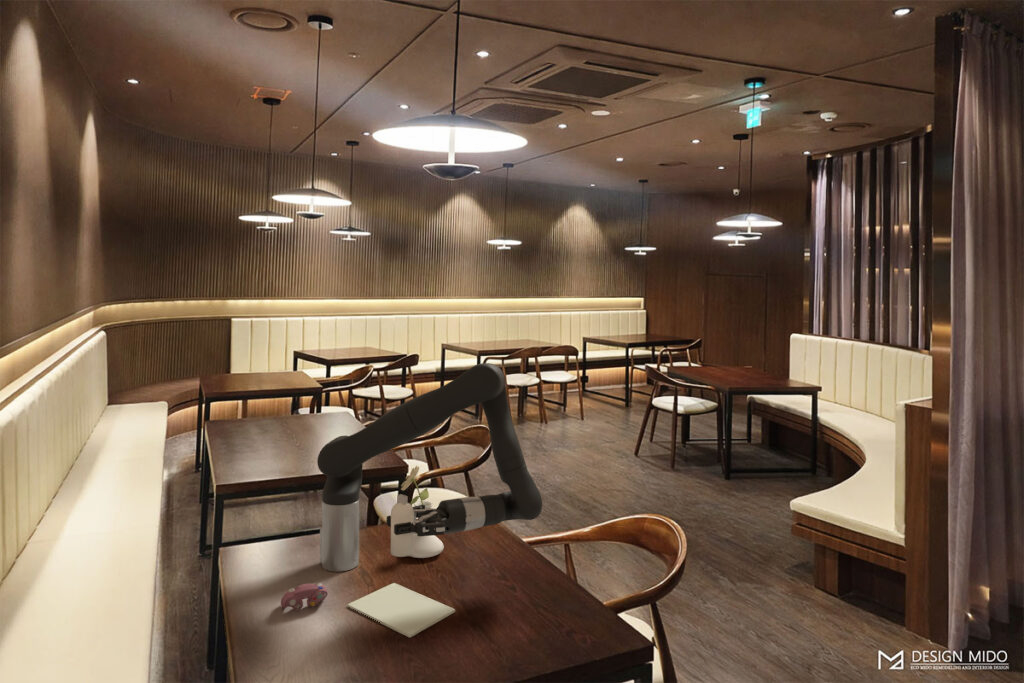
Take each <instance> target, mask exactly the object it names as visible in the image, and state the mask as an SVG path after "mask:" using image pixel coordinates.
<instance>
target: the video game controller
mask: <svg viewBox="0 0 1024 683" xmlns="http://www.w3.org/2000/svg"><path fill="white" fill-rule="evenodd" d="M327 597H328V589H327V588H326V586H325V584H322V583H321V582H318V583H317V584H315V583H303V584H301V585H299V586H296V587H294V588H293V587H291V588H289V589H288V590H286V591H285V592H284V593H283V596H281V599H280V606H281V608H282V609H286V608H288V607H289V608H292V609H293V610H294V611H297V609H299V610H301V609H302V608H304V602H303V600H306V599H307V600H306V603H307V604H306V605H307V606H308V607H309V608H312V607H311V606H314V607H316V606H317V605H318V604H319V602H321V601H324V600H326V598H327Z"/></svg>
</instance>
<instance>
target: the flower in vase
mask: <svg viewBox="0 0 1024 683" xmlns="http://www.w3.org/2000/svg"><path fill="white" fill-rule="evenodd" d="M419 471H420V466H418V465H415V467H413V468H412V469H411V470H410V473H409V474H408V475H406V477H405V480H404V481H403V482H402V484H401V485H400V487H401V488H400V490H401V491H403V492H404V491H405V490H406V489H407V488H408V487H409V486H410V485H412V483H414V485H415V487H416V490H417V492H418V495H416V496H414V497H413V498H412V499H411V501H410V502H409V504H410V505H414V506H418V505H425V509H426V508H432V506H433V505H434V504H433V502H432V501H429V500H426V499H429V496H430V494H429V491H428V488H427V487H426V488H424V490H422V491H421V492H420V490H419V486H418V485H417V482H416V480H415V478H416V477H417V475H418V473H419ZM418 499H419V501H418ZM414 506H413V507H414ZM444 548H445V545H444V543H443V542H442V540H441V539H439V538H438V537H437V535H433V536H417V534H414V542H413V553H412V554H411V555H409V556H408V557H412V558H417V559H424V558H425V559H427V558H431V557H432V558H433V557H434V556H437V555H439V554H441V553H442V552H443V550H444Z"/></svg>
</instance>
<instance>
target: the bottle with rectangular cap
mask: <svg viewBox="0 0 1024 683" xmlns="http://www.w3.org/2000/svg"><path fill="white" fill-rule="evenodd" d="M396 498H397V501H396V503H394V505H393V506H392V507H391V510H390V515H391V526H390V554H391V555H392V556H394V557H398V558H403V557H410V556H409V555H411V554H412V553H413V542H414V534H412V532H411V533H406V534H400V535H395V534H394V525H395V524H400V523H407V522H411V524H412V522H413V521H414V510H413V507H414V506H413V505H412V504H410V502H408V500H409V499H408V498H409V497H408V496H407V495H406V494H401V493H400V494H398V495H397V497H396Z"/></svg>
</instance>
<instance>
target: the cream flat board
mask: <svg viewBox="0 0 1024 683" xmlns="http://www.w3.org/2000/svg"><path fill="white" fill-rule="evenodd" d="M349 607H350V608H349ZM347 608H349V609H351V610H353V609H354V610H353V611H355V610H356V611H355V612H357V611H358V614H361V613H362V614H361V615H363V614H364V615H363V616H365V615H366V616H365V617H367V616H368V618H369V617H370V618H369V619H371V618H372V619H371V620H373V619H374V620H373V621H375V620H376V621H375V622H377V621H378V622H377V623H379V622H380V623H379V624H381V625H383V626H386V627H387V628H389V629H392V630H393V631H395V632H397V633H399V634H401V635H404V636H406V637H408V638H409V639H410V638H412V637H414V636H416V635H417V634H419V633H420V632H422V631H424V630H426V629H428V628H429V627H432V626H434V625H435V624H436V623H438V622H440V621H442V620H443V619H445V618H447V617H448V616H450V615H452V614H454V613H455V612H456V609H455V608H453V607H450V606H449V605H446V604H443V603H442V602H440V601H437V600H435V599H432V598H429V597H428V596H426V595H423V594H420V593H418V592H416V591H414V590H412V589H409V588H407V587H405V586H403V585H400V584H398V583H396V582H393V583H391V584H388V585H386V586H384V587H382V588H379V589H378V590H376V591H373V592H370V593H368V594H367V595H364V596H362V597H361V598H358V599H356V600H354V601H352V602H350V603H348V604H347Z"/></svg>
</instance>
